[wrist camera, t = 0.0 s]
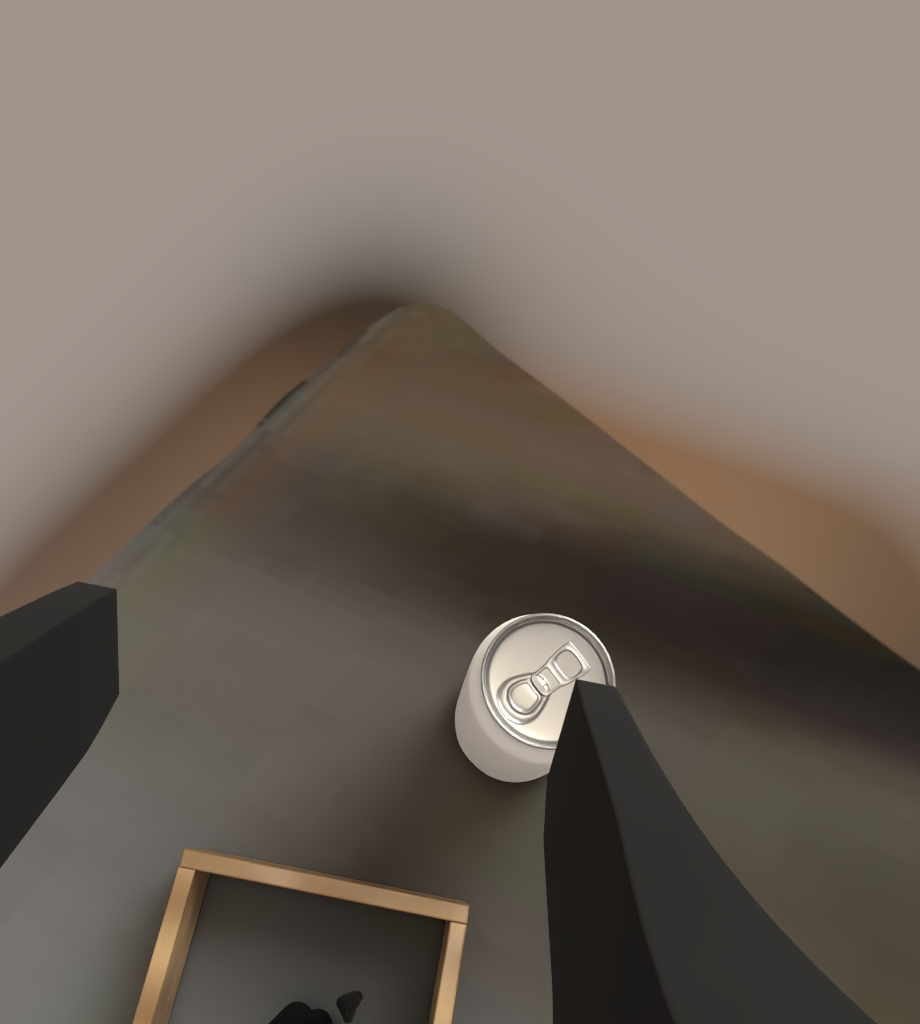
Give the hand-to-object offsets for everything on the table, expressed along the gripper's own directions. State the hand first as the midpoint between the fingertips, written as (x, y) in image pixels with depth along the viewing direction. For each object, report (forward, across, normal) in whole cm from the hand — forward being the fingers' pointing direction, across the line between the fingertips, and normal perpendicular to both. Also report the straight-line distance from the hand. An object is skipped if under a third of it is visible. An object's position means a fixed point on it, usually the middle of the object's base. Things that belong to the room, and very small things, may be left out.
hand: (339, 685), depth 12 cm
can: (+25, -6, +21) cm, 33 cm away
